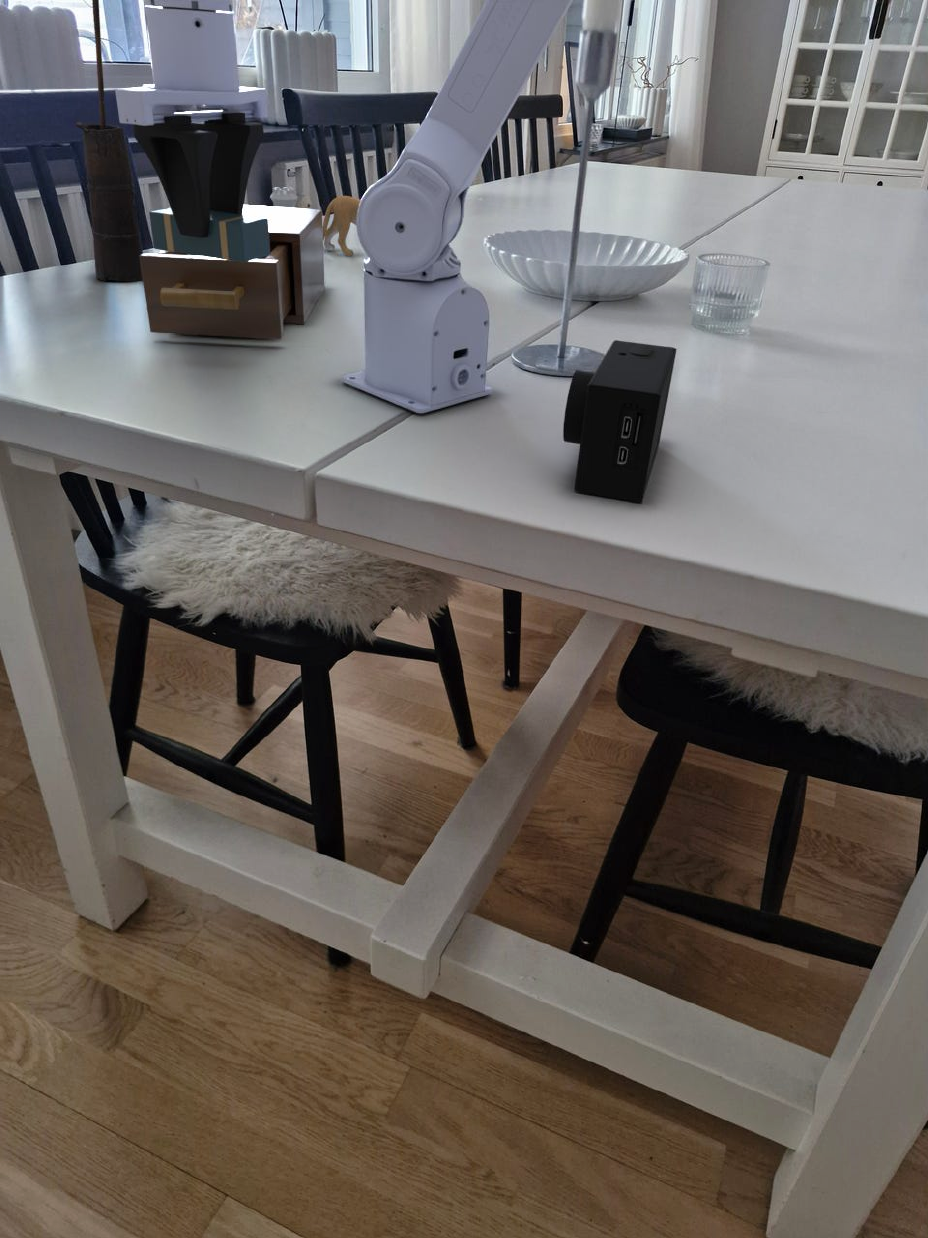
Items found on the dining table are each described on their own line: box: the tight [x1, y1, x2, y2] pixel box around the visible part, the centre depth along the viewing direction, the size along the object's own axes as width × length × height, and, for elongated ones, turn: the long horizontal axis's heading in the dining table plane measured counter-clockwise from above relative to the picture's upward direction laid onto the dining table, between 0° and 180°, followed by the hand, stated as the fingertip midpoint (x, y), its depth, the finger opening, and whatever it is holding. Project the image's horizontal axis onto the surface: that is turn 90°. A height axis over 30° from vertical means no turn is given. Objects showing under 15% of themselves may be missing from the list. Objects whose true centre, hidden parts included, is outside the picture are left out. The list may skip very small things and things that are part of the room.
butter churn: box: [75, 0, 144, 282], centre depth 87 cm, size 9×10×28 cm
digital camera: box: [562, 339, 677, 504], centre depth 56 cm, size 10×5×7 cm, turn 163°
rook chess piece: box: [269, 186, 298, 208], centre depth 105 cm, size 4×4×8 cm
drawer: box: [139, 241, 295, 340], centre depth 77 cm, size 18×11×6 cm, turn 0°
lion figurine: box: [322, 195, 361, 257], centre depth 111 cm, size 15×5×9 cm, turn 103°
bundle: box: [148, 207, 270, 262], centre depth 65 cm, size 8×4×3 cm, turn 69°
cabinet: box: [242, 204, 326, 325], centre depth 87 cm, size 15×13×8 cm
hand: (211, 231), depth 65 cm, fingers closed on bundle, 3 cm apart
